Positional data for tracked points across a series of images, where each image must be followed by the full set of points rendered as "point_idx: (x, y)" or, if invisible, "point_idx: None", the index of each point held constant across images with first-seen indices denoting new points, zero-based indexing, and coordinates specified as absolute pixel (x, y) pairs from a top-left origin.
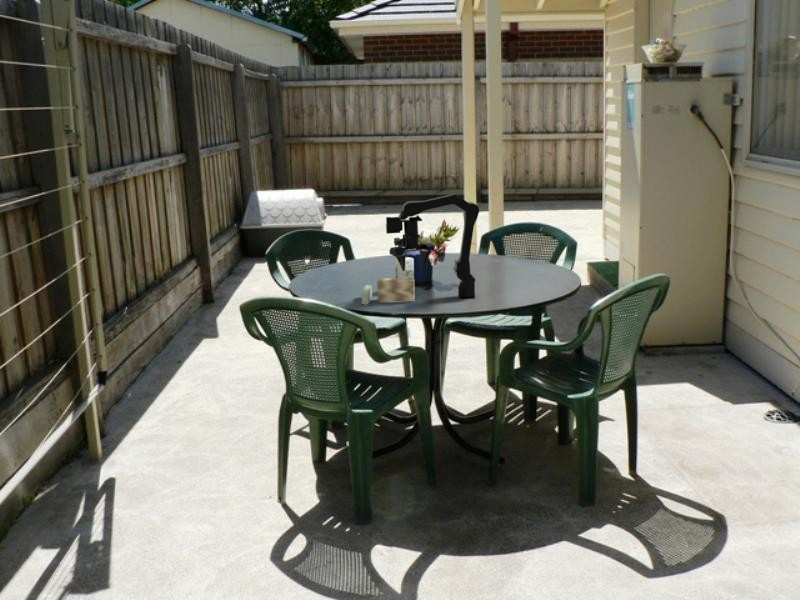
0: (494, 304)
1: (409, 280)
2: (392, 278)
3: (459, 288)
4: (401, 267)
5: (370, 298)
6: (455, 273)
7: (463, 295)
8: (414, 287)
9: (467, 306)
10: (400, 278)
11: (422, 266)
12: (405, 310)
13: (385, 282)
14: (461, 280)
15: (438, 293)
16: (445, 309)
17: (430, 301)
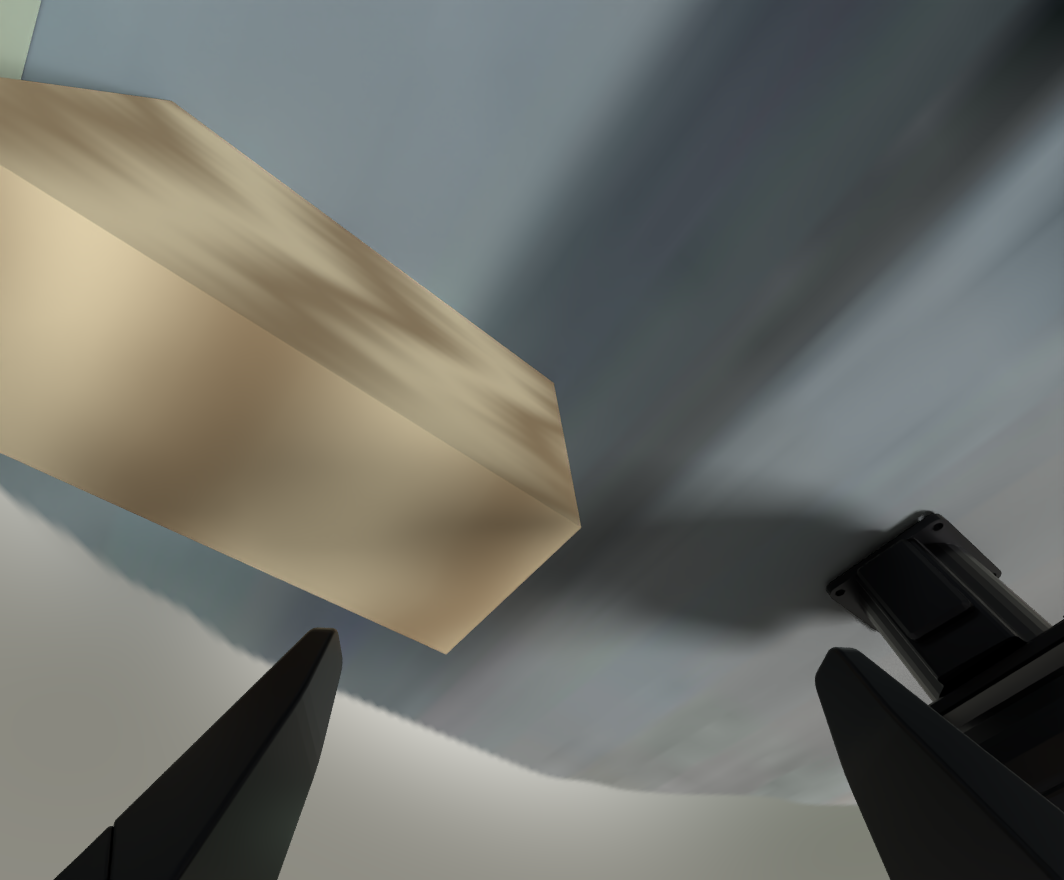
0: (806, 758)
1: (418, 605)
2: (213, 310)
3: (901, 627)
4: (249, 702)
5: (12, 43)
6: (1047, 735)
7: (865, 604)
8: (562, 449)
9: (668, 729)
10: (367, 413)
11: (833, 705)
12: (272, 633)
13: (14, 438)
14: (1017, 665)
15: (905, 335)
16: (519, 720)
17: (594, 536)
